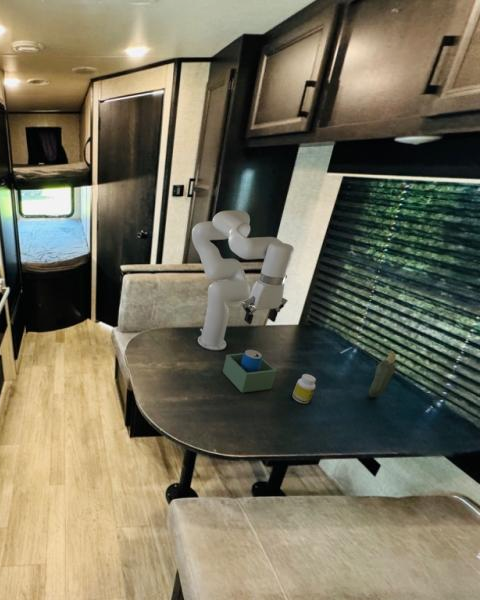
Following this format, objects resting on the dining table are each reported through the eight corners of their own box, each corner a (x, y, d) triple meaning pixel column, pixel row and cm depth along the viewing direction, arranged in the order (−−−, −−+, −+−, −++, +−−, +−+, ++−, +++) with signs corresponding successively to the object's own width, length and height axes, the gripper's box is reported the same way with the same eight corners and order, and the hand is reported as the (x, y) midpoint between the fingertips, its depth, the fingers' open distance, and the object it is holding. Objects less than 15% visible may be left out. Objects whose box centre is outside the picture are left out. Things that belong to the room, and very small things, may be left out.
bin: (222, 372, 129) (226, 354, 126) (249, 368, 131) (254, 351, 127) (241, 392, 118) (246, 374, 114) (271, 388, 120) (277, 370, 116)
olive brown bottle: (380, 403, 113) (405, 357, 104) (365, 399, 114) (388, 354, 106) (376, 395, 116) (399, 350, 108) (361, 392, 118) (383, 347, 109)
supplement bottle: (309, 406, 111) (317, 384, 107) (291, 399, 114) (299, 378, 110) (310, 397, 115) (318, 376, 111) (292, 391, 118) (300, 370, 114)
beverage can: (253, 386, 120) (261, 360, 115) (235, 380, 124) (242, 354, 119) (257, 377, 125) (264, 352, 120) (239, 371, 128) (246, 347, 123)
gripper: (286, 273, 113) (273, 314, 121) (242, 276, 111) (232, 318, 118) (302, 281, 106) (287, 324, 114) (256, 284, 104) (244, 328, 112)
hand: (259, 321), depth 116 cm, fingers open, 9 cm apart
